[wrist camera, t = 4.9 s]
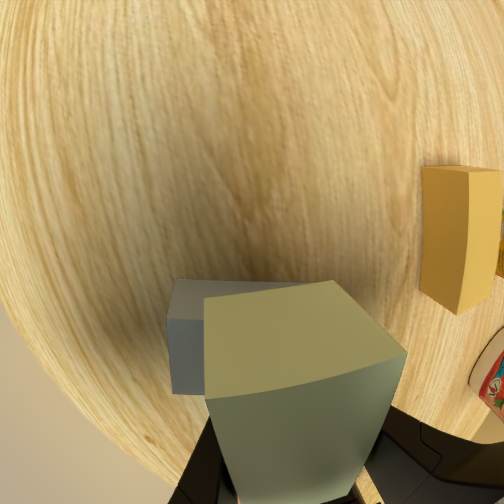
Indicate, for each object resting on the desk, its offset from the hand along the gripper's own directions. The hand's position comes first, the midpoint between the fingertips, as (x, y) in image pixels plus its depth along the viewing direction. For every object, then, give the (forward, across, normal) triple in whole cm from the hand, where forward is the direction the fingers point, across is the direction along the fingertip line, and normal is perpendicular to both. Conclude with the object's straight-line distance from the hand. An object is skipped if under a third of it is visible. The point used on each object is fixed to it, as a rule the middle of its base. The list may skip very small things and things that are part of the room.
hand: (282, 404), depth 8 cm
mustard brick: (+6, -13, -3) cm, 15 cm away
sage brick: (+1, 0, 0) cm, 1 cm away
